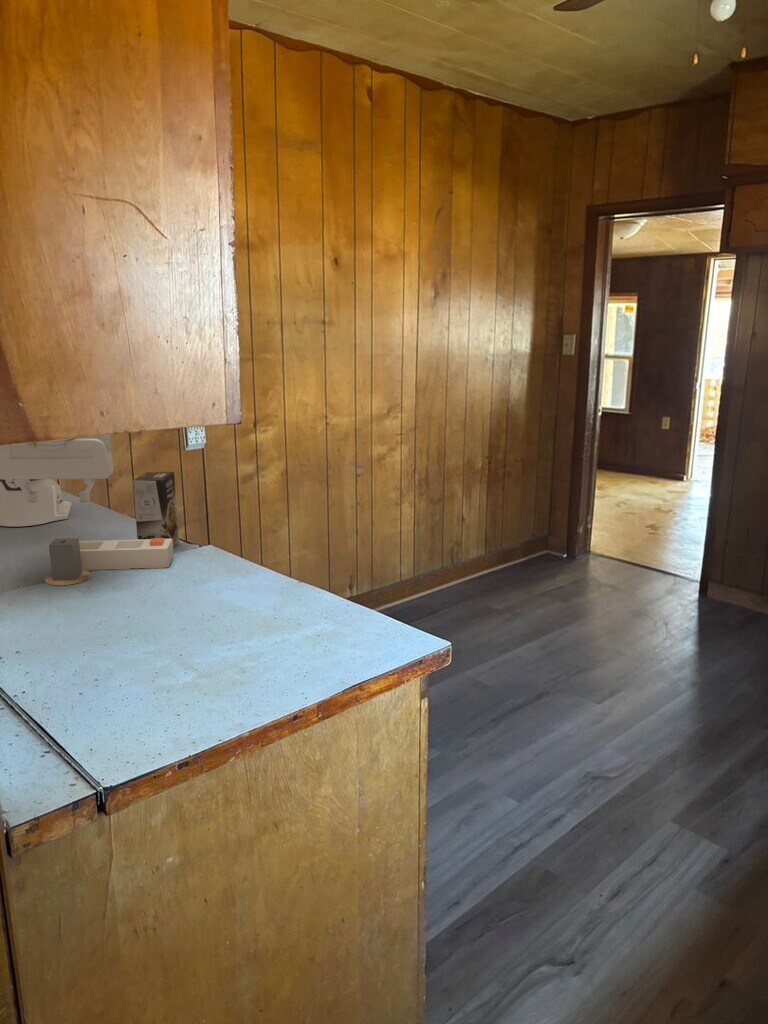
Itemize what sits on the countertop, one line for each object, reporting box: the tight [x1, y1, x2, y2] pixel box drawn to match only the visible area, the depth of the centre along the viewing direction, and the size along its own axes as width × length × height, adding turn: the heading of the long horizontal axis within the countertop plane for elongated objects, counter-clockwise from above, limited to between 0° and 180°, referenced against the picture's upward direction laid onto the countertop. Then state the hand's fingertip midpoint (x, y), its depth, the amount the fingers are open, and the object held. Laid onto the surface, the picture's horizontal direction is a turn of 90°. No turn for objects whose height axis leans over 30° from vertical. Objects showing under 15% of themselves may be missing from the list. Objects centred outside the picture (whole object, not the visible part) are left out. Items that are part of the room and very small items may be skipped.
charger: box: [48, 537, 82, 581], centre depth 142 cm, size 4×4×7 cm
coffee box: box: [132, 471, 180, 549], centre depth 160 cm, size 9×6×16 cm
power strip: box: [79, 538, 175, 571], centre depth 151 cm, size 22×7×5 cm, turn 97°
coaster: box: [44, 570, 91, 587], centre depth 143 cm, size 8×8×1 cm
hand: (58, 501), depth 140 cm, fingers open, 8 cm apart
